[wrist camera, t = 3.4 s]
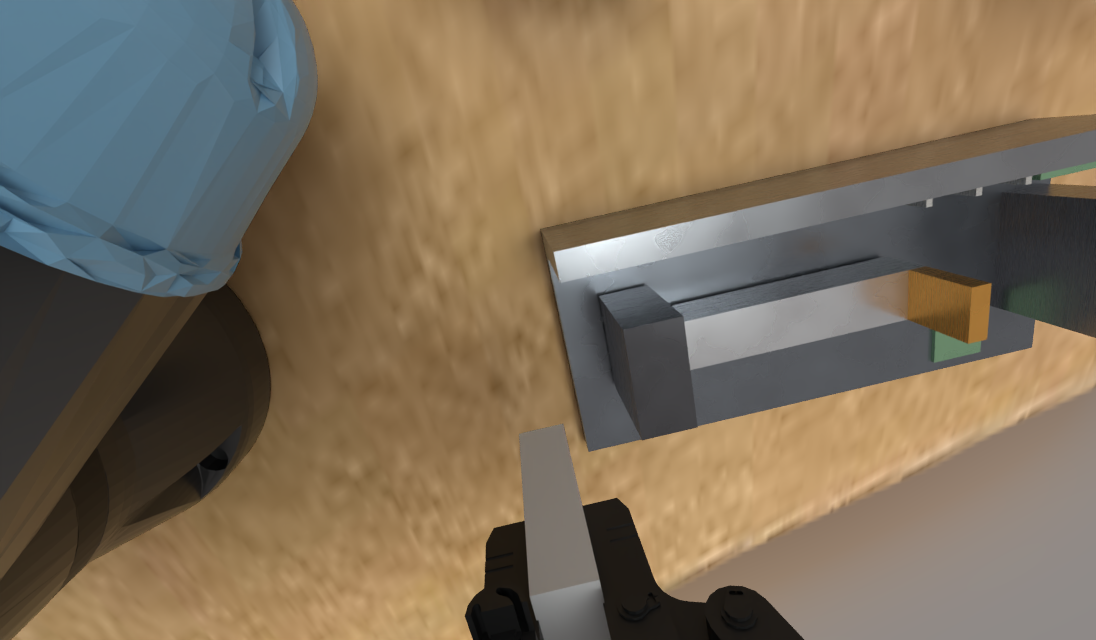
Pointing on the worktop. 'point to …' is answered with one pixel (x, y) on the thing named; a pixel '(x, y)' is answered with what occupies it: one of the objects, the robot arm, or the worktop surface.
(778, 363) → the rail
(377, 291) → the worktop surface
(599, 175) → the worktop surface
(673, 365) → the capped sliding bar
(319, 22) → the worktop surface
